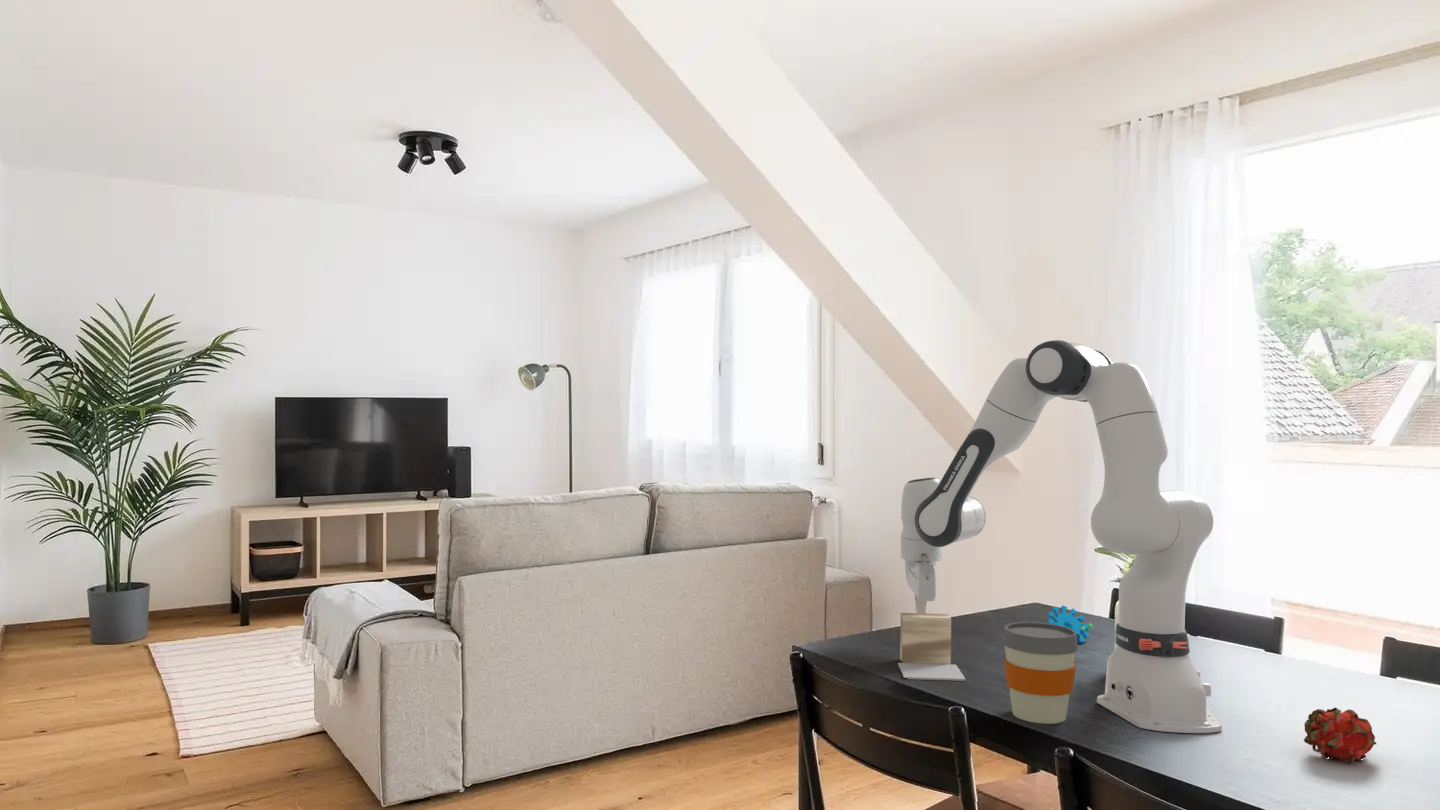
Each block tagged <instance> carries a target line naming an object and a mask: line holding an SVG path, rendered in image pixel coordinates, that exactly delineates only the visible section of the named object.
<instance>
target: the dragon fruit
mask: <svg viewBox="0 0 1440 810" xmlns="http://www.w3.org/2000/svg"><path fill="white" fill-rule="evenodd" d="M1307 717H1308V719H1307V720H1306V721H1305V722H1304V725H1303V726H1304V732H1305V733H1306V736H1304V738H1303V742H1304V743H1306V744H1308V745H1309V746H1312V747H1311V748H1312V751H1313V752H1316V753H1320V754H1321V755H1322V756H1323V757H1324V758H1325V759H1326V758H1328V757H1329V759H1330V760H1332V759H1333V758H1335V757H1337V758H1339V759H1340V760H1341V761H1343V762H1348V763H1349V764H1352V763H1355V760H1356V759H1357V761H1359V760H1361V759H1363V758H1364V759H1365V758H1367V755H1366V754H1367V753H1369V752H1370V751H1371V750H1372V748H1373V747H1374V746H1375V745H1377V741H1375V740H1376V737H1375V736H1376V735H1375V734H1374V733H1373V727H1372V725H1371V723H1370V721H1369V720H1368V719H1366V718H1361V717H1359V715H1358V713H1357V712H1355V711H1354V710H1353V709H1351V708H1350V709H1347V710H1346V709H1345V710H1344V711H1342V710H1341V709H1340V708H1338V707H1333V708H1327V710H1324V709H1321V708H1317V709H1315V710H1313V711H1312V712H1311V713H1310V714H1309V715H1308V716H1307ZM1364 759H1363V760H1364Z"/></svg>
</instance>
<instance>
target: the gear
mask: <svg viewBox="0 0 1440 810" xmlns="http://www.w3.org/2000/svg"><path fill="white" fill-rule="evenodd" d="M1059 610H1061V613H1060V612H1059ZM1067 610H1068V606H1065V605H1063V604H1062V605H1061V606H1060V608H1059V607H1058V606H1053V608H1052V609H1051V611H1049V612H1048V614H1047V617H1048V618H1049V619H1048V620H1047V624H1054V625H1059V626H1064V627H1067V628H1070V629H1072V630H1074V631H1075V632H1076V634H1077V643H1079V644H1082V643H1083V644H1084V642H1085V641H1086V639H1087V638H1088V637H1089V636H1090V632H1089V630H1091V629H1092V628H1093V626H1094V625H1093V623H1092V622H1089V623H1083V622H1084V621H1085V620H1086V619H1085V617H1084V616H1083V615H1082V614H1081V615H1079V616H1075V615H1076V614H1077V612H1078V611H1077V610H1076V609H1075V608H1071V610H1070V611H1069V613H1067V612H1066V611H1067Z"/></svg>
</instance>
